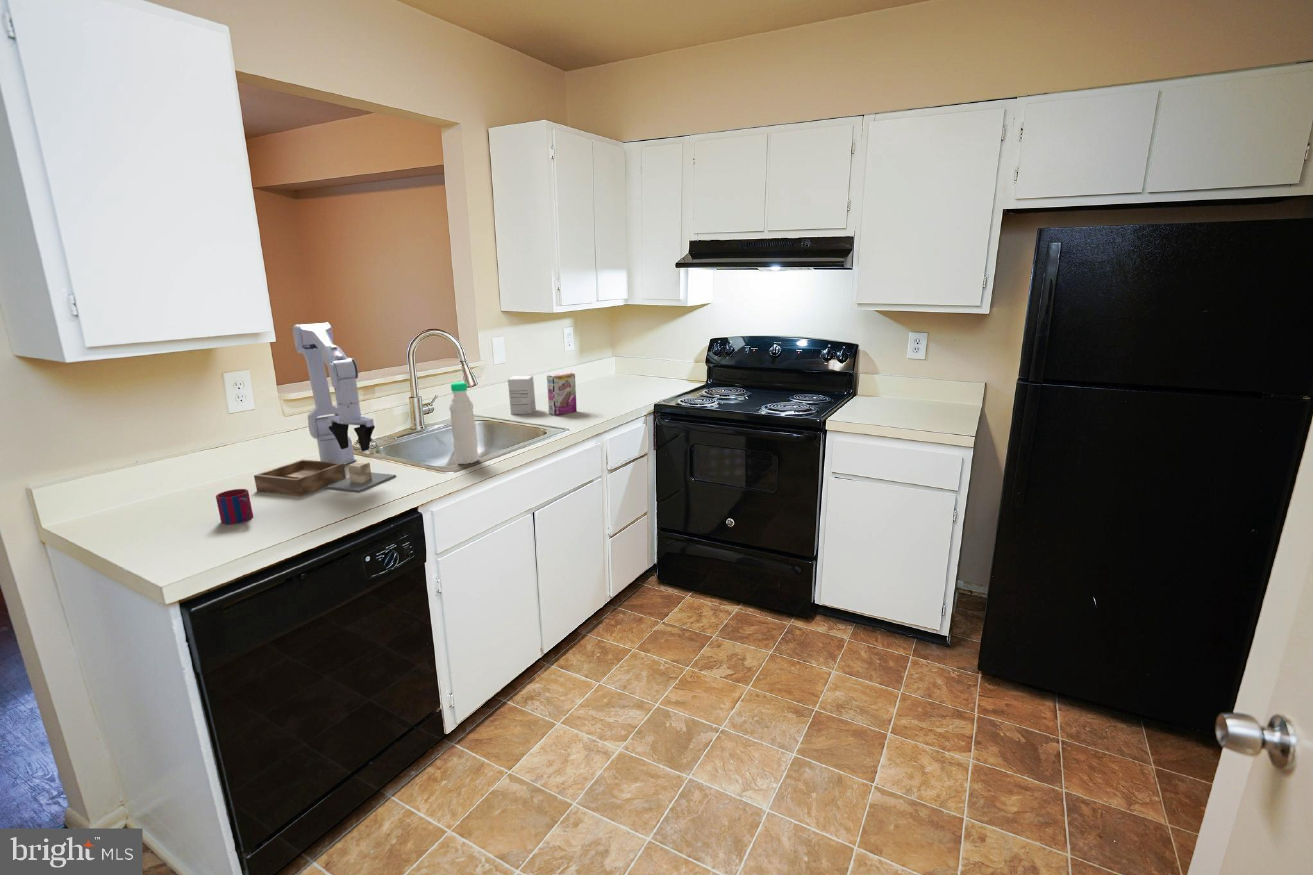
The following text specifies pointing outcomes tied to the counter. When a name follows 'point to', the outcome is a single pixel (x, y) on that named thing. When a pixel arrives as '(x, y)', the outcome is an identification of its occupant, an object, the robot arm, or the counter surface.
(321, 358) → the robot arm
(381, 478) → the grey mat
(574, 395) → the candy bar box
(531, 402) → the supplement box
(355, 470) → the birch block
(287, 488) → the walnut crate
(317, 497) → the counter surface
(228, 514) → the mug
